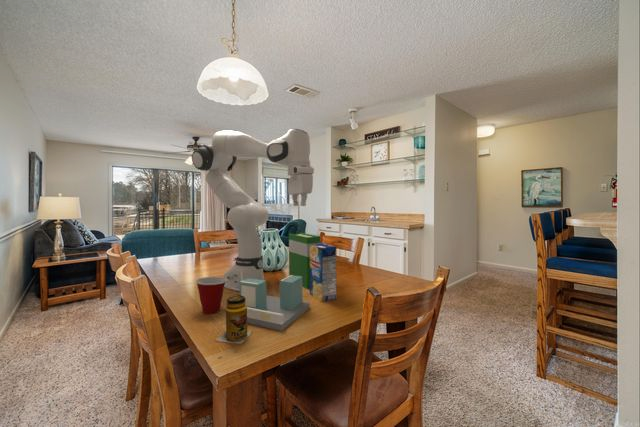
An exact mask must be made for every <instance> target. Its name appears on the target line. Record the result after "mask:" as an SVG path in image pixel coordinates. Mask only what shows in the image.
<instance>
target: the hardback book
mask: <svg viewBox="0 0 640 427" xmlns="http://www.w3.org/2000/svg"><path fill="white" fill-rule="evenodd" d="M319 243H321V236H320V235H314V234H309V233H304V232H300V233H299V234H293V233H288V276H290V275H293V276H301V277H302V287H303V289H307V290H310V244H319Z"/></svg>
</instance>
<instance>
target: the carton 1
mask: <svg viewBox="0 0 640 427" xmlns="http://www.w3.org/2000/svg"><path fill="white" fill-rule="evenodd" d="M264 280H265V279H264ZM264 280H257V279H250V278H248V279H245V280H243V281H240V282H239V291H238V295H241V296H244V297H245V302H246V304H245V305H246V306H247V307H250V308H255V309H260V310H264V309H266V308H267V304H266V295H267V280H265V281H264Z"/></svg>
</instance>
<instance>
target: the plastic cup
mask: <svg viewBox="0 0 640 427" xmlns="http://www.w3.org/2000/svg"><path fill="white" fill-rule="evenodd" d="M226 281H227V279H226V278H224V277H221V276H204V277H200V278H197V279H195V283H196V286H197V290H198V295H199V299H200V304H201V308H202V312H203V314H205V315H212V314H216V313H218V312H219V311H220V310H221V305H222V301H223V294H224V288H225V287H224V285H225V282H226Z"/></svg>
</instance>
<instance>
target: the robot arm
mask: <svg viewBox="0 0 640 427" xmlns="http://www.w3.org/2000/svg"><path fill="white" fill-rule="evenodd" d="M310 154H311V142H310V136H309V134H308V132H307V131H305V130H303V129H298V128H291V129H289V130H288V131H287V132H286V134H284V135H283V136H281V137H278V138H276V139H272V140H270V142H269V143H267V142H264V141H261V140H259V139H257V138H255V137H253V136H251V135H249V134H246V133H244V132H241V131H236V130H235V131H234V130H220V131H217V132H215V133H214V134H213V136H212V139H211V144H210V145H208V144H203V145H202V146H200V147H198V148H195V150H193V152H192V155H191V162H192V164H193V166H194V167H195V168H196V169H197V170H199V171H205V172H206V175H205V181H206V183H207V185H208V187H209V188H210V189H211V191H212V192H213V194H214V195H215V197H216V198H217V199H219V201H221V203H222V204H223V205H224V206H225V207H226V208H228V209H229V211H228V212H227V218H226V219H227V222H228V223H229V224H228V225H230V226H231V228H232V229H233V231H234V233H235V237H236V240H237V257H235V258H234V257H233V261H234V262H235V263H234V264H233V265H232V266H231V267H230V268H229V269H227V270H226V271H225V273H224V277H223V278H226V279H227V281H226V282H225V285H224V288H225V289H227V290H228V289H229V290H231V291H232V290H233V291H236V292H239V282H240V281H243V280H245V279H248V278H250V279H257V280H264V281H266V280H265V276H264V271H263V265H264V257H263V255H262V253H263V250H262V249H263V245H262V243H263V240H262V239H261V237H260V236H259V234H258V229H257V227H261V226H262V225H263V224H265V223H267V221H268V220H269V217H270V216H269V215H270V213H269V211H268V208H266V207H265V206H263V205H261V204H260V203H258V202H257V201H256V200H255V199H254V198H252V197H251V196H249V194H247V193H246V192H245V191H244V190H243V189H242V188H241V187H240V186H239V185H238V183H236V181H235V180H234V179H233V178H232V177H231V176H230V175H229V173H228V172H230V171H232V170H233V167H234V166H235V164H236V162H237V157H238V158H264V159H268V160H269V161H270V162H272V163H274V164H278V165H281V166H282V165H283V166H286V167H287V176H288V177H289V176H290V177H289V179H288V188H287V189H288V190H287V192H288V195H289V196H291V198H292V204H293V206H295V207H297V206H299V205H300V207H306V205H307V199H308V195H309V194H312V192H313V184H314V176H313V175H314V172H315V168H314V167H313V166H311V160H310ZM207 171H208V172H207ZM299 195H300V197H301V198H300V201H299V200H298V197H299Z"/></svg>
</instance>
